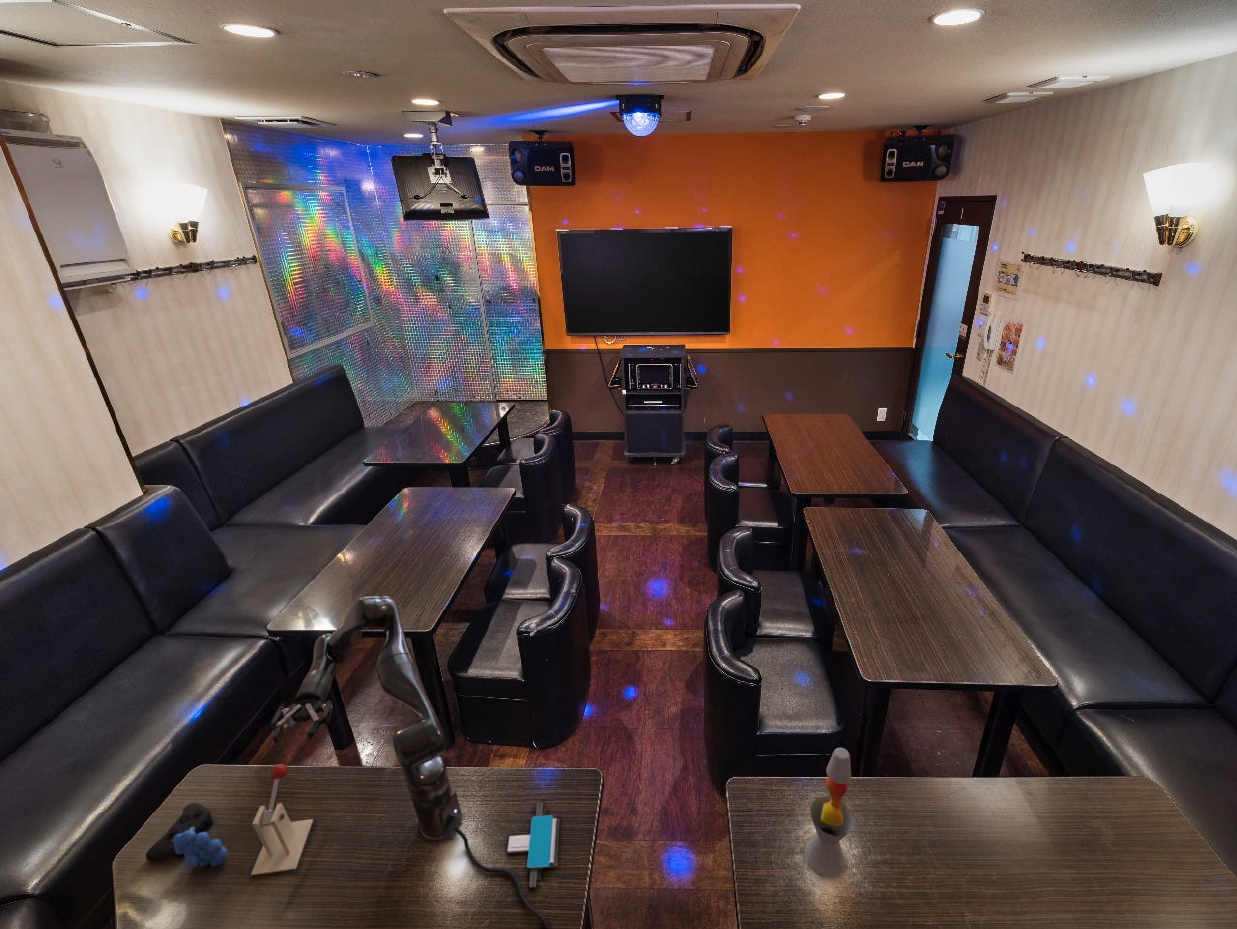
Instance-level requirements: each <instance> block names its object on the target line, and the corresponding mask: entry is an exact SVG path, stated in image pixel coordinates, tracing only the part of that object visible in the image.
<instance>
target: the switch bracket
mask: <svg viewBox="0 0 1237 929" xmlns="http://www.w3.org/2000/svg"><path fill="white" fill-rule="evenodd" d="M264 811H268V809H267V808H266V806H265V805H260V806H259V808H258V810H257V812H256V815H255V816H254V819H253V822H252V827H253V829H254V831H255V833H256V835H257V836H258V838H259V840H260V842H261V844H262V847H261V850H260V852H259V854H258V856H257V859H256V861H255V863H254V866H253V868H252V870H251V873H250V876H251V877H252V876H261V875H266V874H274V873H281V872H288V871H294V870H296V869H297V866H298V865H299V864H298V863H299V861H300V859H301V856H302V852H303V850H304V847H305V845H306V842H307V839H308V836H309V833H310V831H311V828H312V825H313V822H314V819H313V818H311V819H303V820H296V821H291V819H290V817H289V815H288V813H287V811H286V809H285V806H284V805H283V802H279V803H276V806H275V811H274V814H273V816H272V818H271V821H270V822H271V824H272V826H263V825H261V823H262V818H263V814H264Z"/></svg>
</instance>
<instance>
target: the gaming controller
mask: <svg viewBox="0 0 1237 929" xmlns="http://www.w3.org/2000/svg"><path fill="white" fill-rule="evenodd" d="M213 824H214V820H213V818H212V813H211V811H210V810H209V809H208V808H207V807H205V806H204V805H202V804H201V803H197V802H190V803H189V804H187V805H185V806H184V808H183V809H182V813H181V814H180V815H179V817H178V818H177V820H175V822H174V823H173V824H172V826H170V828H169V829H168V830H167V831H166V833H165V834H164V835H163V836H162V837H161V838H159V839H158V840H157V841H156V842H154V844H153V845H152V846H150V847H149V849H147V851H146V853H145V859H146V860H147V861H148V862H157V861H161V860H165V859H169V858H182V857H185V855H184V854H178V855H177V853H176V852H175V845H174V843H173V838H174V836H175V835H177V834H180V833H183V832H184V831H186V830H192V829H194V831H195V833H196V835H197V834H198V833H200V831H201V830H202V828H204V826H205V827H208V826H211V825H213Z"/></svg>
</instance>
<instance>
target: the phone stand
mask: <svg viewBox="0 0 1237 929" xmlns="http://www.w3.org/2000/svg"><path fill="white" fill-rule="evenodd" d="M535 808H536V809H535V816H532V817H531V822H530V823H531V824H530V833H529V834H520V835H509V838H508V844H507V854H514V853H528V854H527V861H526V862H527V864H526V867H527V868H528V869H530V870H529V883H528V884H529V885H528V889H537V881H542V875H543V869H551V868H552V869H553V868H558V858H559V840H560V839H559V838H560V837H559V836H560V820H561V818H560V817H554V815H552V814H548V815H547V809H544V801H543V802H540V801H539V802H536V807H535Z"/></svg>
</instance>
